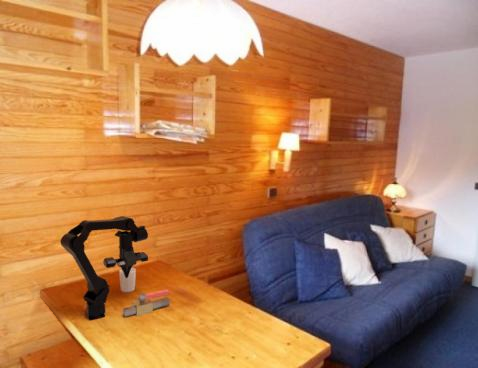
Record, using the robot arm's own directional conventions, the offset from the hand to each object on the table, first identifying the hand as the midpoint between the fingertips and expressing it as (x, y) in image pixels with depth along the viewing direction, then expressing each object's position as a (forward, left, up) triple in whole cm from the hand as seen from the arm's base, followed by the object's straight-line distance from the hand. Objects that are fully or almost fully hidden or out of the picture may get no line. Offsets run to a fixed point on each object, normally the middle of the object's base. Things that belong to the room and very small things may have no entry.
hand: (126, 277), depth 168 cm
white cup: (+5, +14, -12) cm, 19 cm away
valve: (+5, -12, -12) cm, 18 cm away
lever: (+8, -12, -6) cm, 16 cm away
